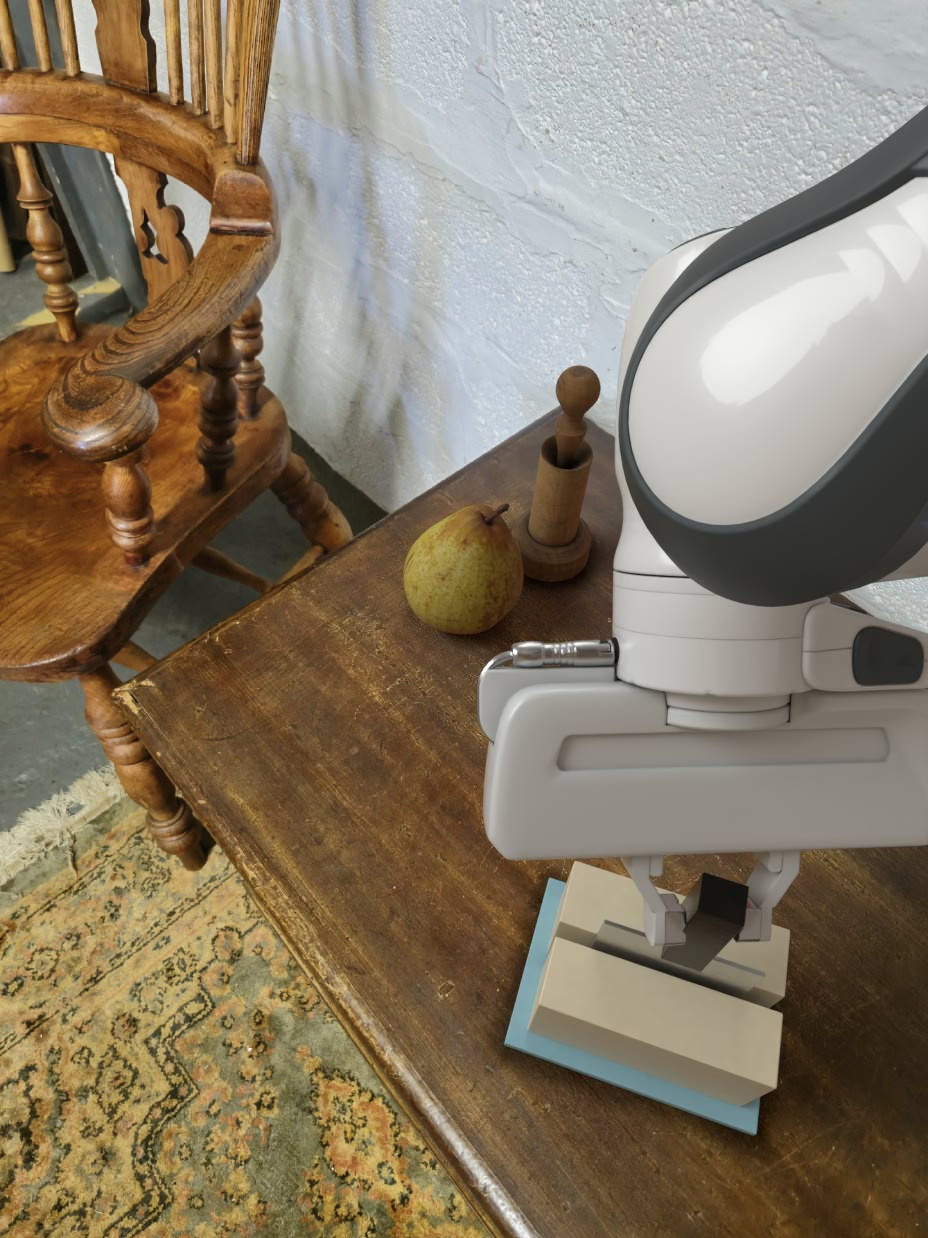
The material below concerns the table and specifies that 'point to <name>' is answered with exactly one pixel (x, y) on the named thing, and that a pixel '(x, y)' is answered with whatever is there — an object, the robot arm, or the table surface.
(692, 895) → the slider knob post
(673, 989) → the slide lever switch
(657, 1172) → the table surface
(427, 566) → the fruit
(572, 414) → the mortar and pestle
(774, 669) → the robot arm
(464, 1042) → the table surface
